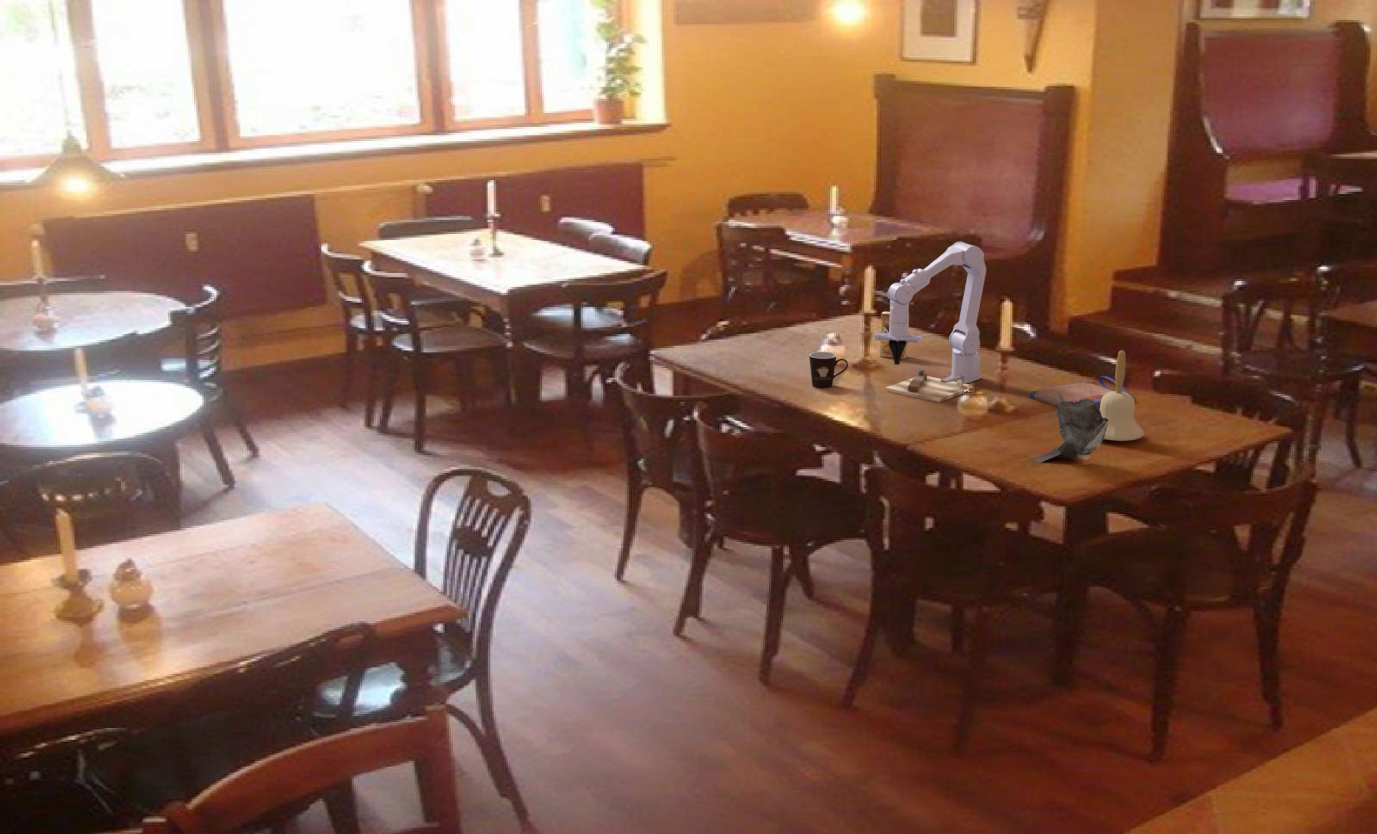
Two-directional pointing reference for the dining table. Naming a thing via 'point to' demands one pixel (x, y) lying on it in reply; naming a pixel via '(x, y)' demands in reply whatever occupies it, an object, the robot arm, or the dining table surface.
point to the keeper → (955, 378)
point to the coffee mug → (823, 368)
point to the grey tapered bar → (917, 381)
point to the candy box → (884, 345)
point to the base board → (929, 389)
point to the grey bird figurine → (1078, 430)
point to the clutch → (1074, 393)
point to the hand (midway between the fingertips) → (897, 363)
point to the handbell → (1120, 409)
